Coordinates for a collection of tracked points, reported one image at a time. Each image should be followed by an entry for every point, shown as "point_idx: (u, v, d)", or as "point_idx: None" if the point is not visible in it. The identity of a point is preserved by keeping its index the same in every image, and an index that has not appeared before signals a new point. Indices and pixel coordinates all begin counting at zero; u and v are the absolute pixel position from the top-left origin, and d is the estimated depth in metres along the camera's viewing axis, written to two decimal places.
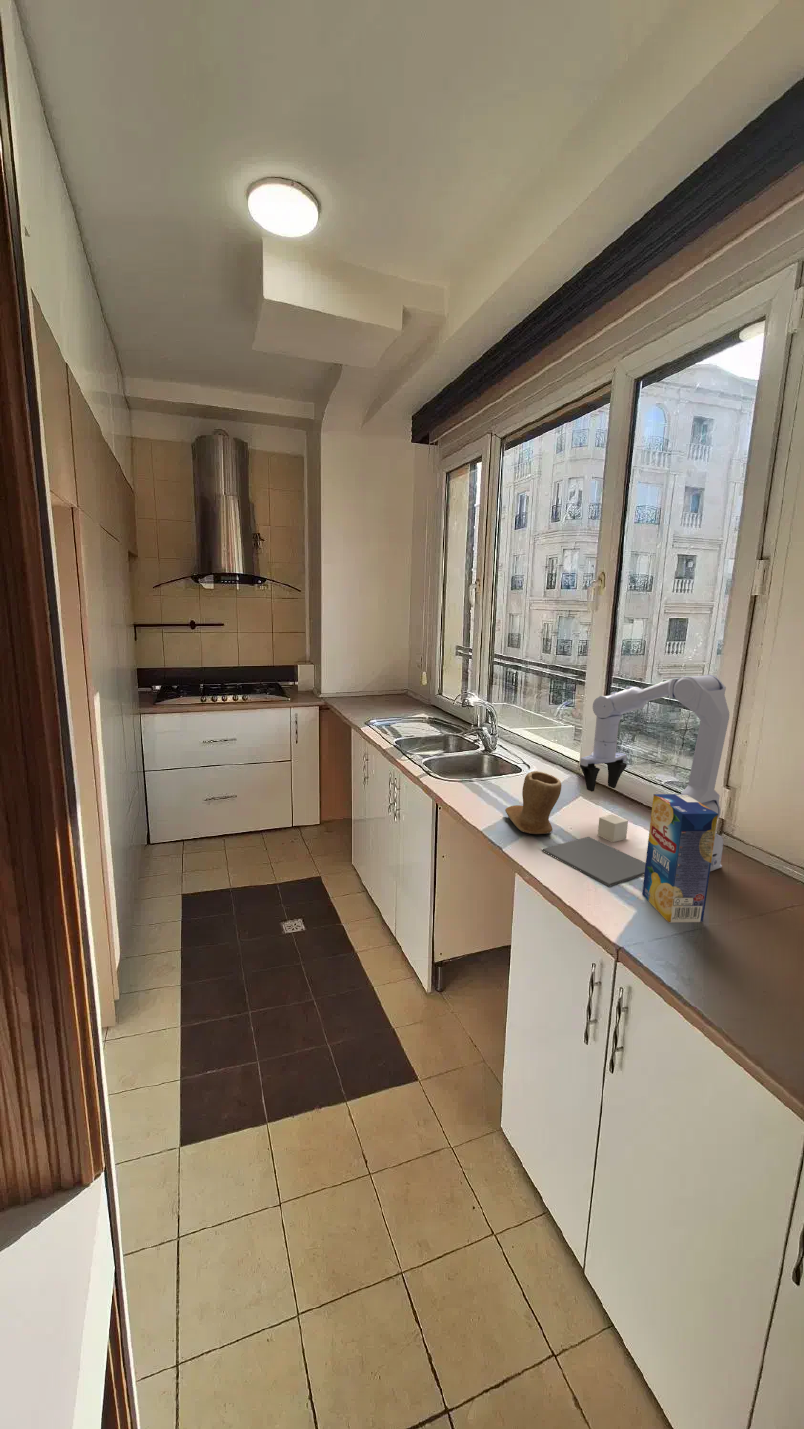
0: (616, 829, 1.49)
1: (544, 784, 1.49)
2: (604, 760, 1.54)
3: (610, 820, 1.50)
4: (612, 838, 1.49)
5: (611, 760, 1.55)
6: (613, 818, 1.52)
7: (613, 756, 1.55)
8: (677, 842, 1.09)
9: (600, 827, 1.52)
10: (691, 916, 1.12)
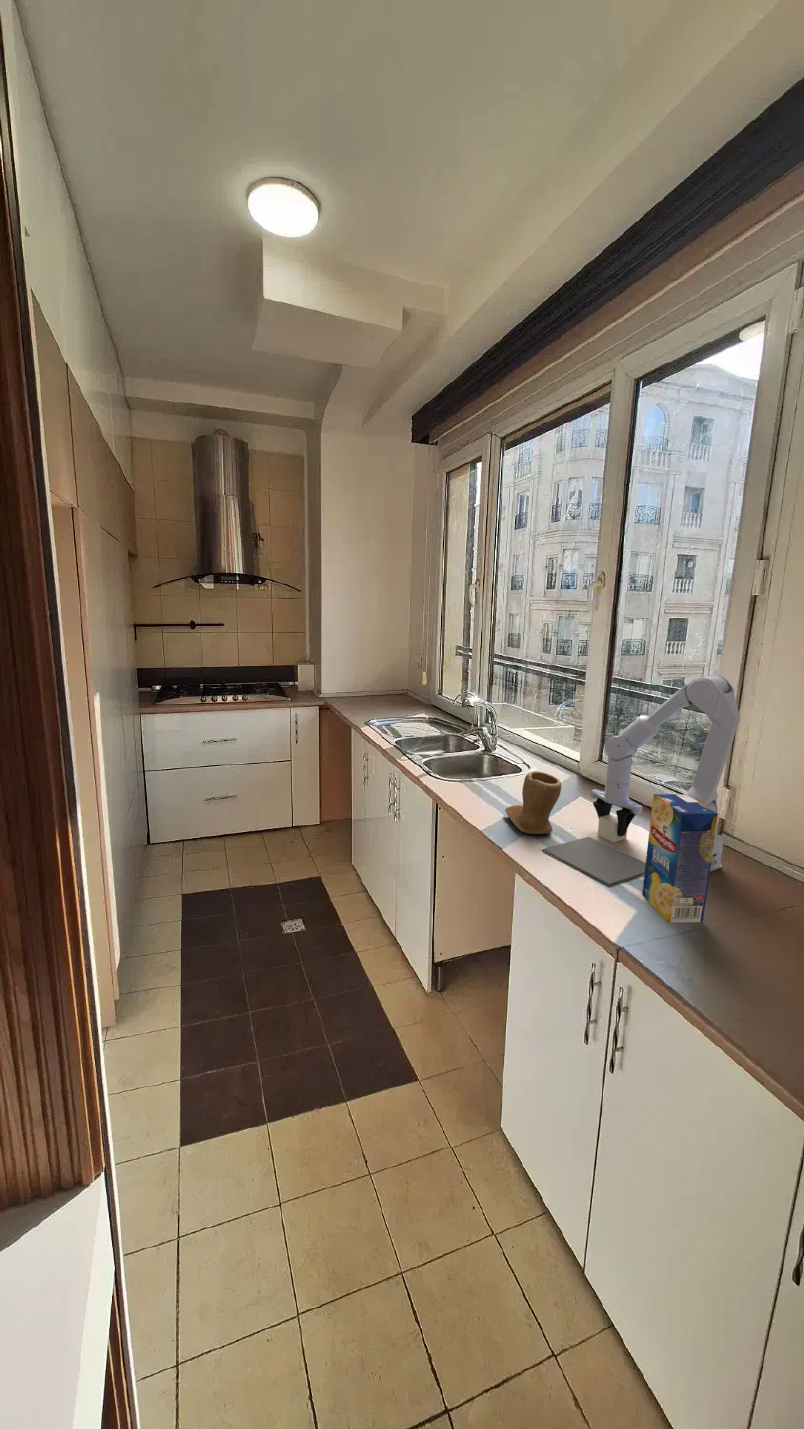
0: (616, 828, 1.48)
1: (544, 784, 1.49)
2: (602, 798, 1.51)
3: (610, 820, 1.50)
4: (612, 838, 1.49)
5: (606, 800, 1.49)
6: (613, 817, 1.52)
7: (610, 798, 1.48)
8: (677, 842, 1.09)
9: (600, 827, 1.52)
10: (691, 916, 1.12)
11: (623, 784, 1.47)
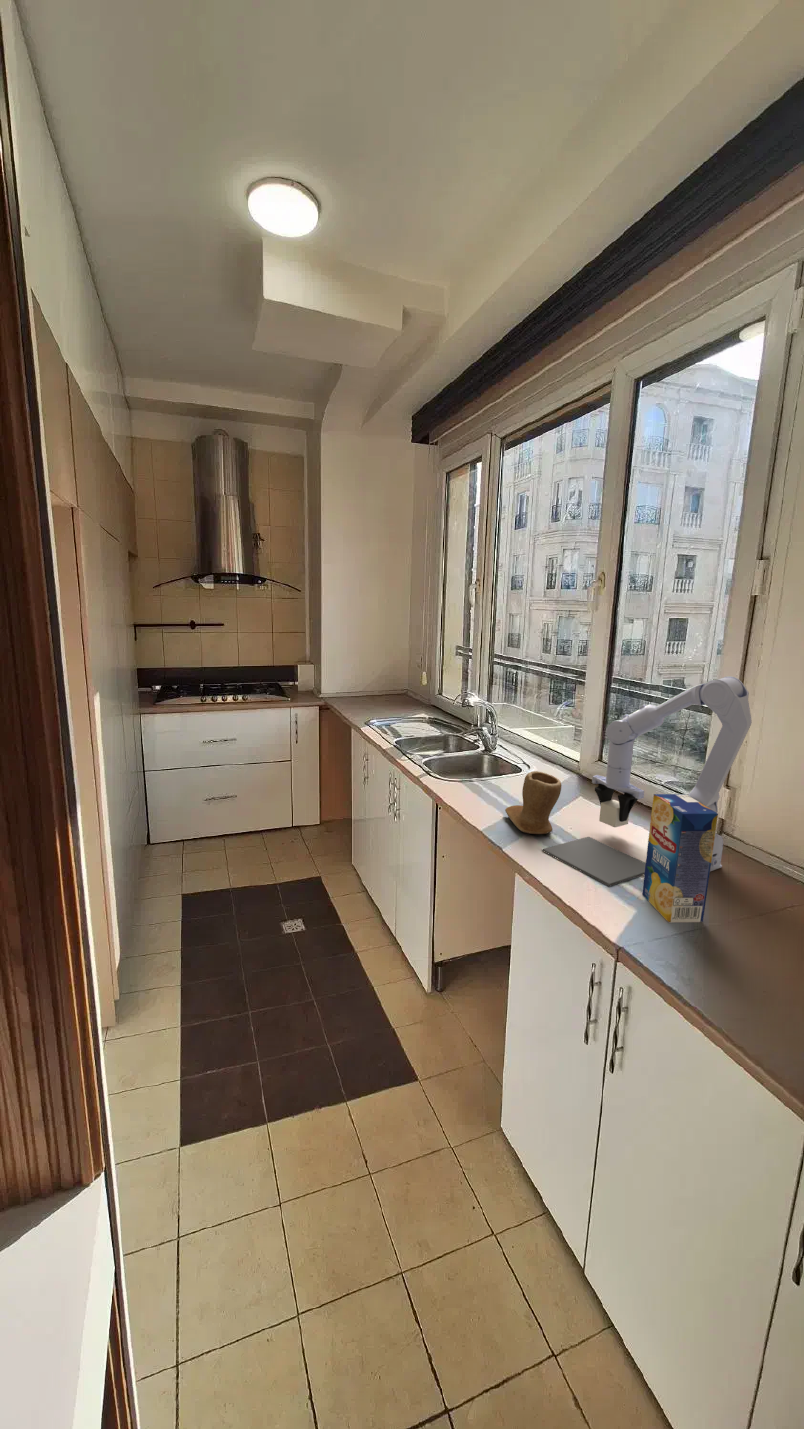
0: (617, 814, 1.48)
1: (544, 784, 1.49)
2: (603, 783, 1.50)
3: (612, 805, 1.49)
4: (614, 823, 1.48)
5: (608, 785, 1.48)
6: (614, 803, 1.51)
7: (611, 783, 1.47)
8: (678, 842, 1.09)
9: (602, 812, 1.51)
10: (691, 916, 1.12)
11: (625, 769, 1.46)
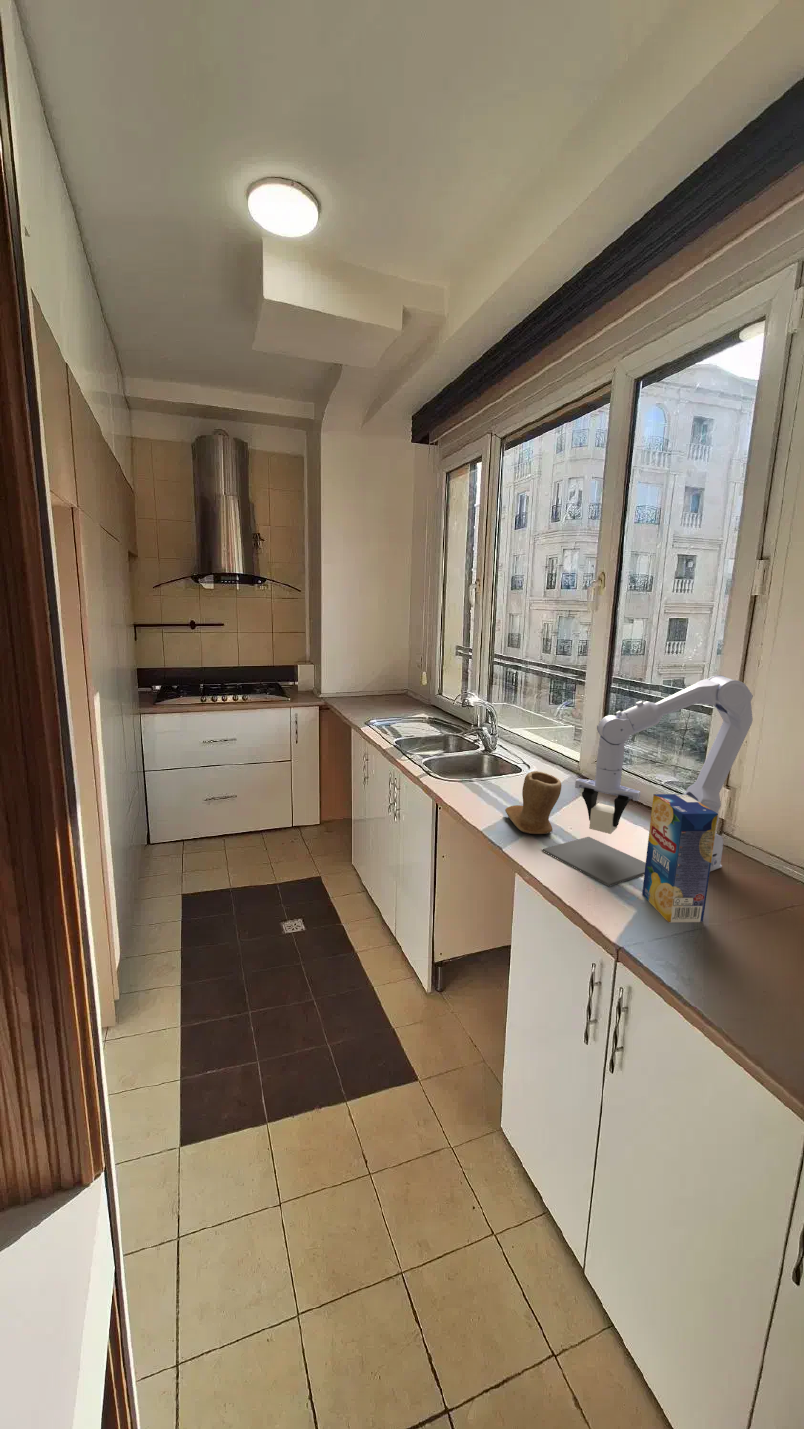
0: (612, 819, 1.36)
1: (544, 784, 1.49)
2: (594, 787, 1.37)
3: (604, 810, 1.37)
4: (609, 829, 1.36)
5: (601, 790, 1.35)
6: (603, 807, 1.39)
7: (606, 786, 1.35)
8: (677, 842, 1.09)
9: (593, 819, 1.38)
10: (691, 916, 1.12)
11: (619, 769, 1.34)
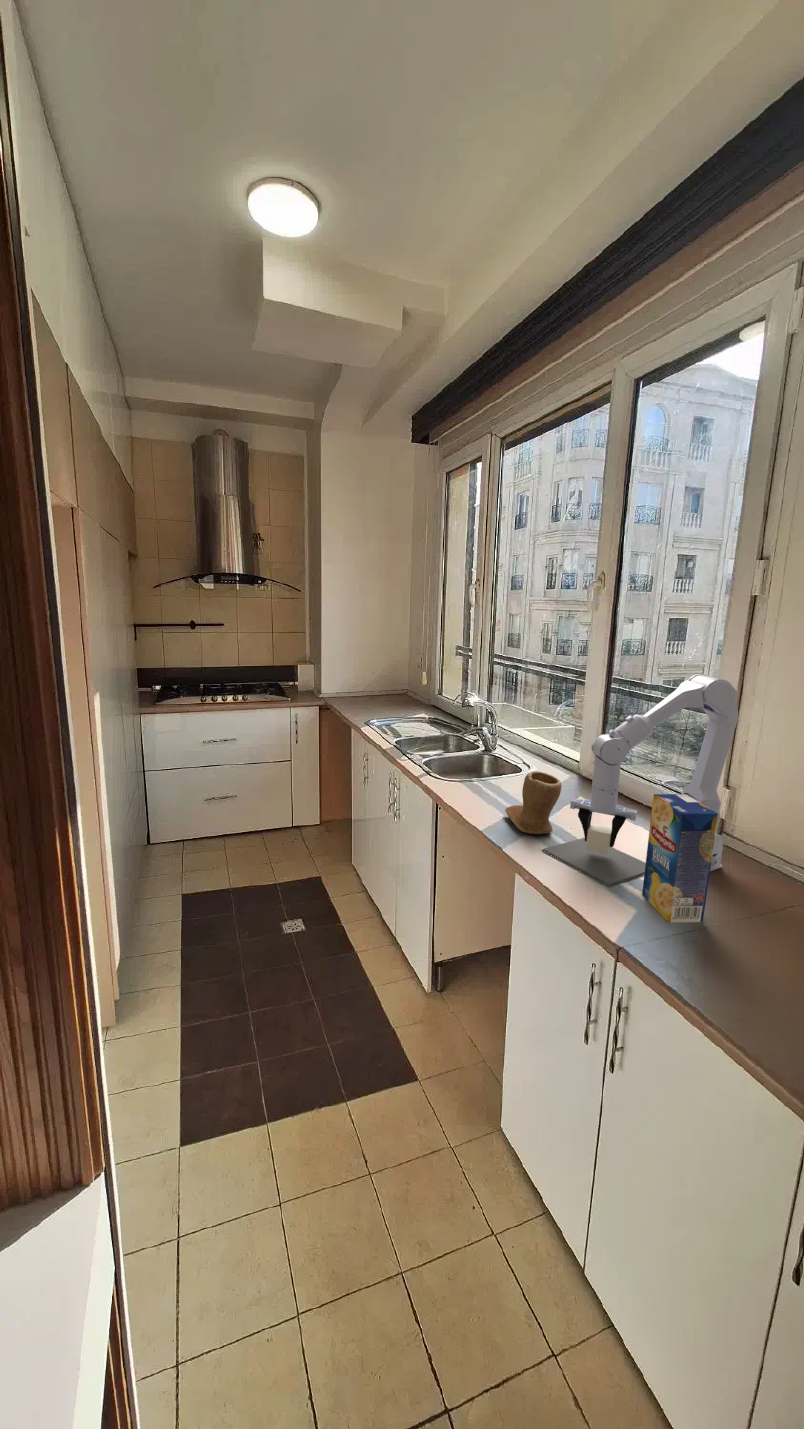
0: (610, 839, 1.34)
1: (544, 784, 1.49)
2: (591, 808, 1.34)
3: (601, 831, 1.35)
4: (607, 850, 1.34)
5: (599, 810, 1.33)
6: (599, 827, 1.37)
7: (603, 807, 1.33)
8: (678, 842, 1.09)
9: (589, 840, 1.36)
10: (691, 916, 1.12)
11: (616, 790, 1.32)
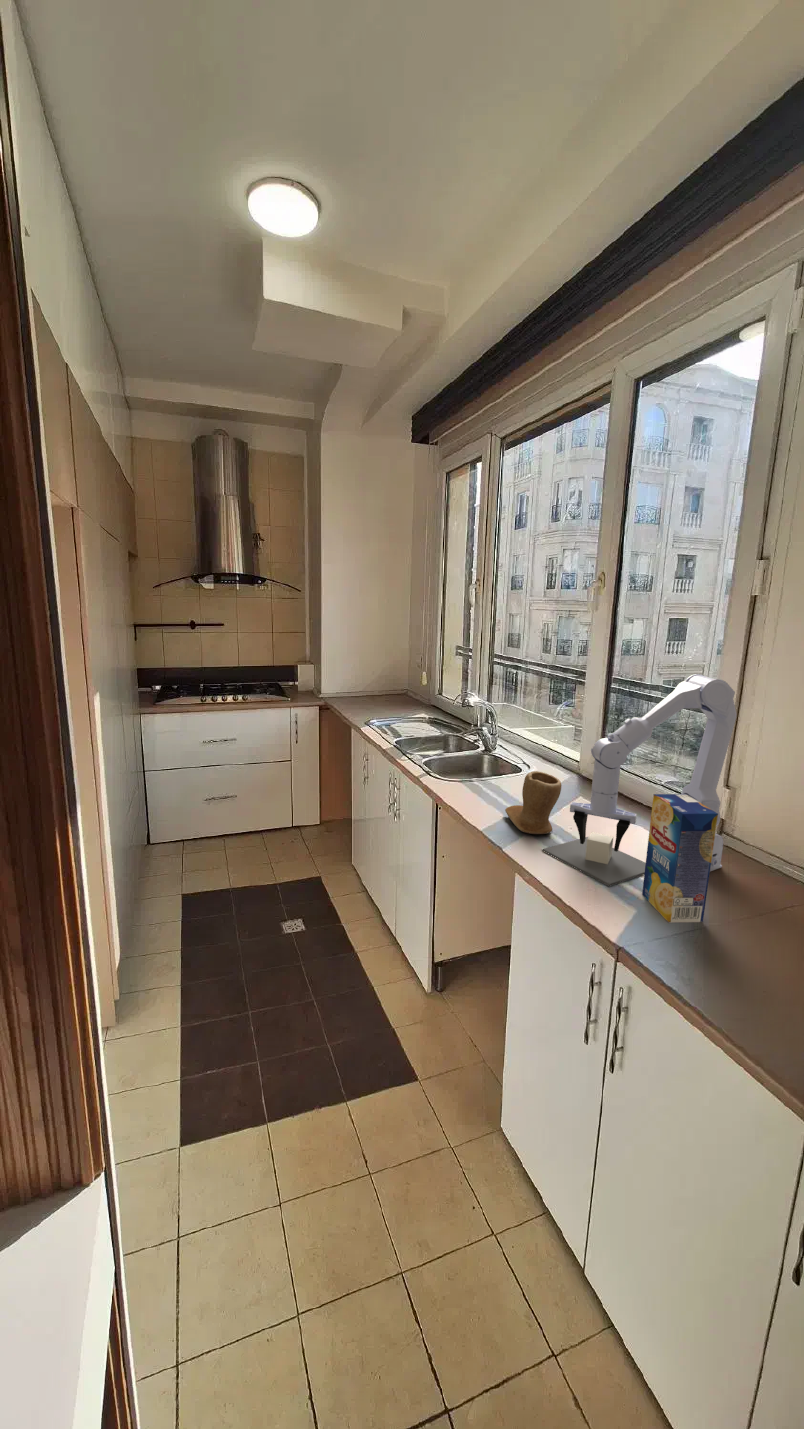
0: (609, 849, 1.35)
1: (544, 784, 1.49)
2: (590, 811, 1.35)
3: (601, 841, 1.35)
4: (606, 859, 1.35)
5: (598, 814, 1.33)
6: (598, 836, 1.38)
7: (603, 810, 1.33)
8: (677, 842, 1.09)
9: (589, 849, 1.36)
10: (691, 916, 1.12)
11: (616, 793, 1.33)
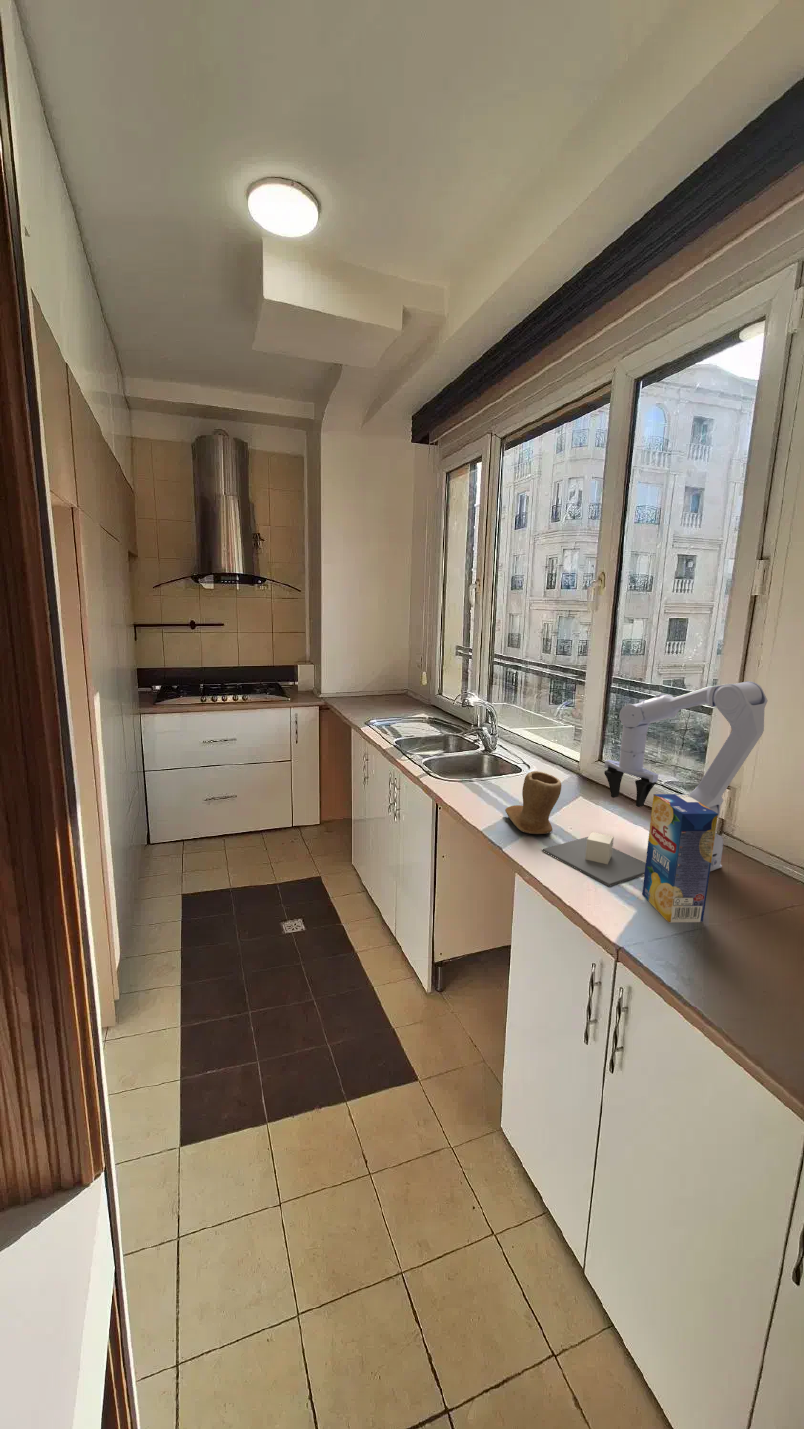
0: (609, 849, 1.35)
1: (544, 784, 1.49)
2: (617, 767, 1.50)
3: (601, 841, 1.35)
4: (606, 859, 1.35)
5: (621, 769, 1.48)
6: (598, 836, 1.38)
7: (625, 766, 1.47)
8: (677, 842, 1.09)
9: (589, 849, 1.36)
10: (691, 916, 1.12)
11: (639, 752, 1.46)
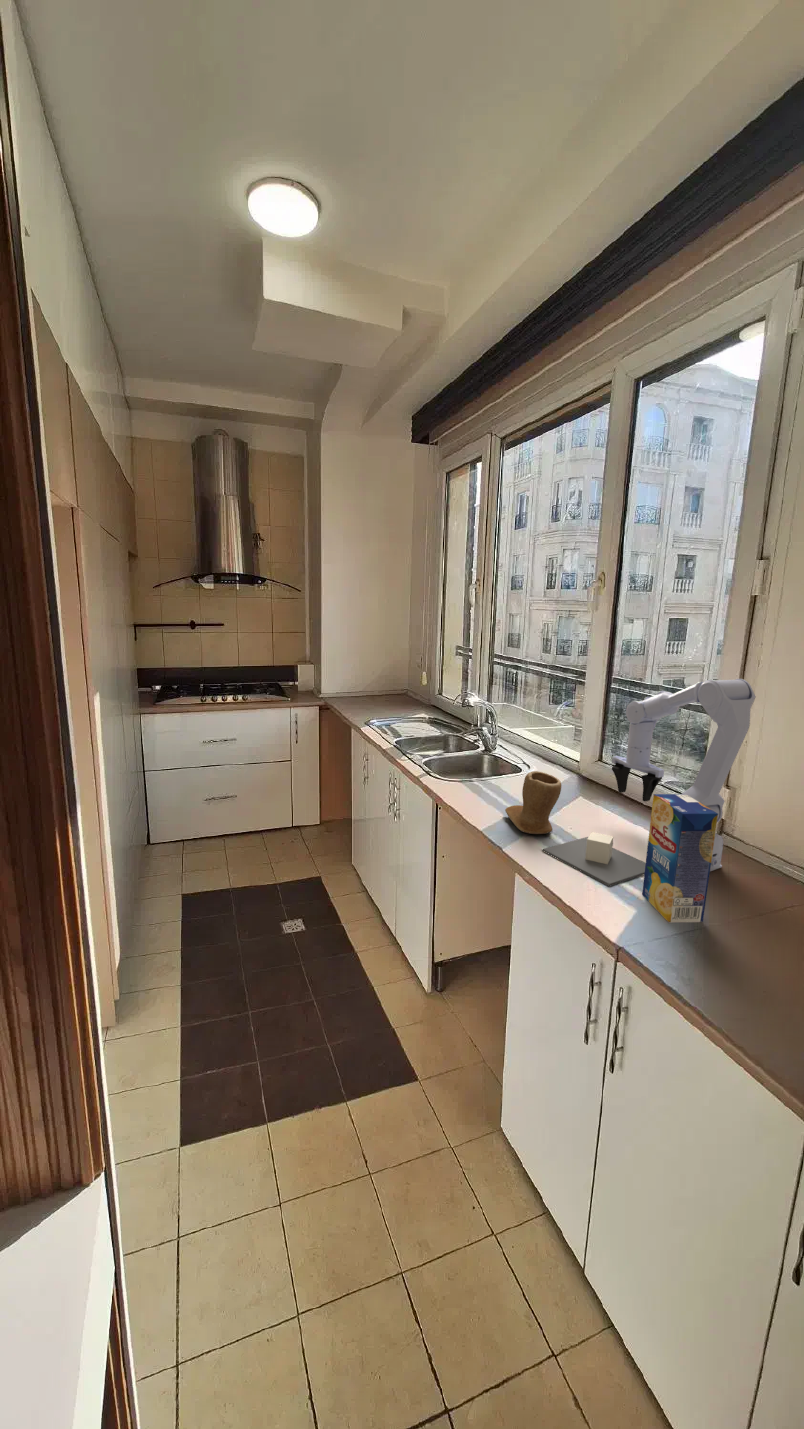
0: (609, 849, 1.35)
1: (544, 784, 1.49)
2: (624, 763, 1.54)
3: (601, 841, 1.35)
4: (606, 859, 1.35)
5: (628, 765, 1.52)
6: (598, 836, 1.38)
7: (632, 762, 1.52)
8: (677, 842, 1.09)
9: (589, 849, 1.36)
10: (691, 916, 1.12)
11: (645, 748, 1.50)
